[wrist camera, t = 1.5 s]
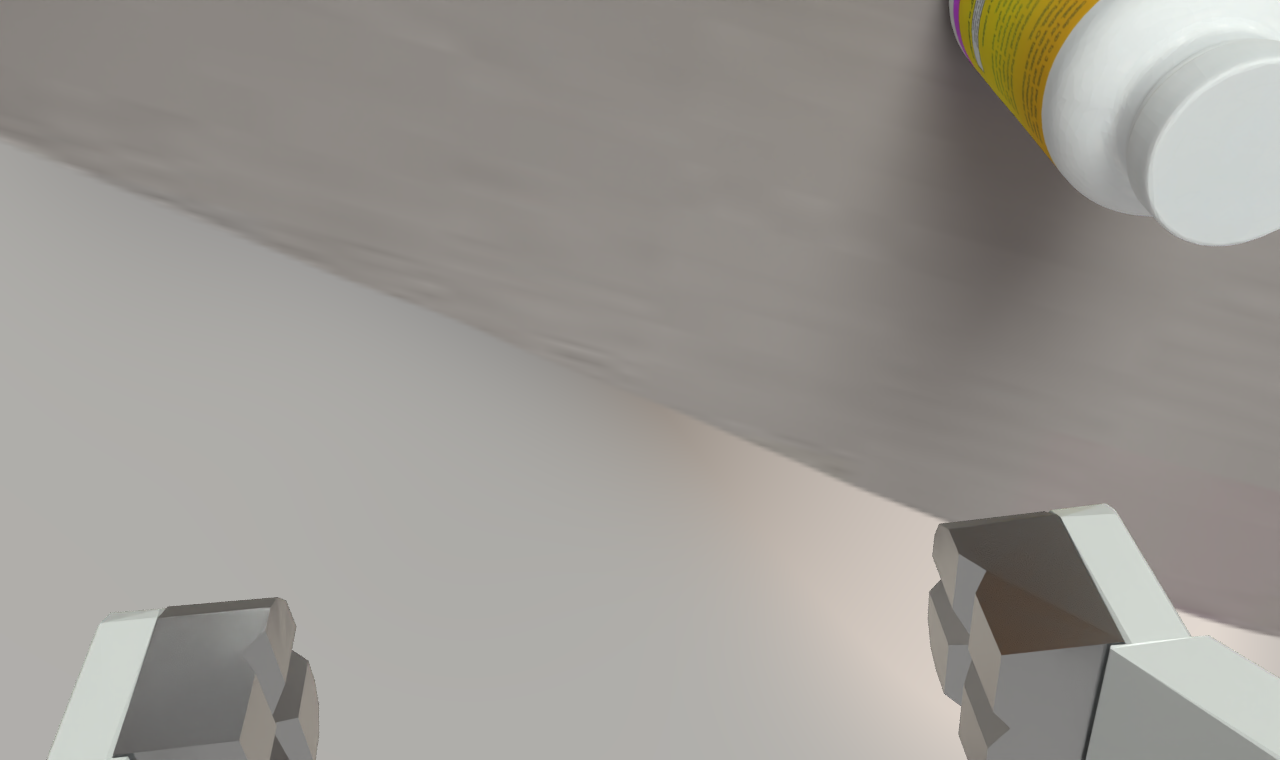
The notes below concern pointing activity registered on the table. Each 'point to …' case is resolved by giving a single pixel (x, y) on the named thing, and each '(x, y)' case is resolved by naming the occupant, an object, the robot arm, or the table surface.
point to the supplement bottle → (1145, 102)
